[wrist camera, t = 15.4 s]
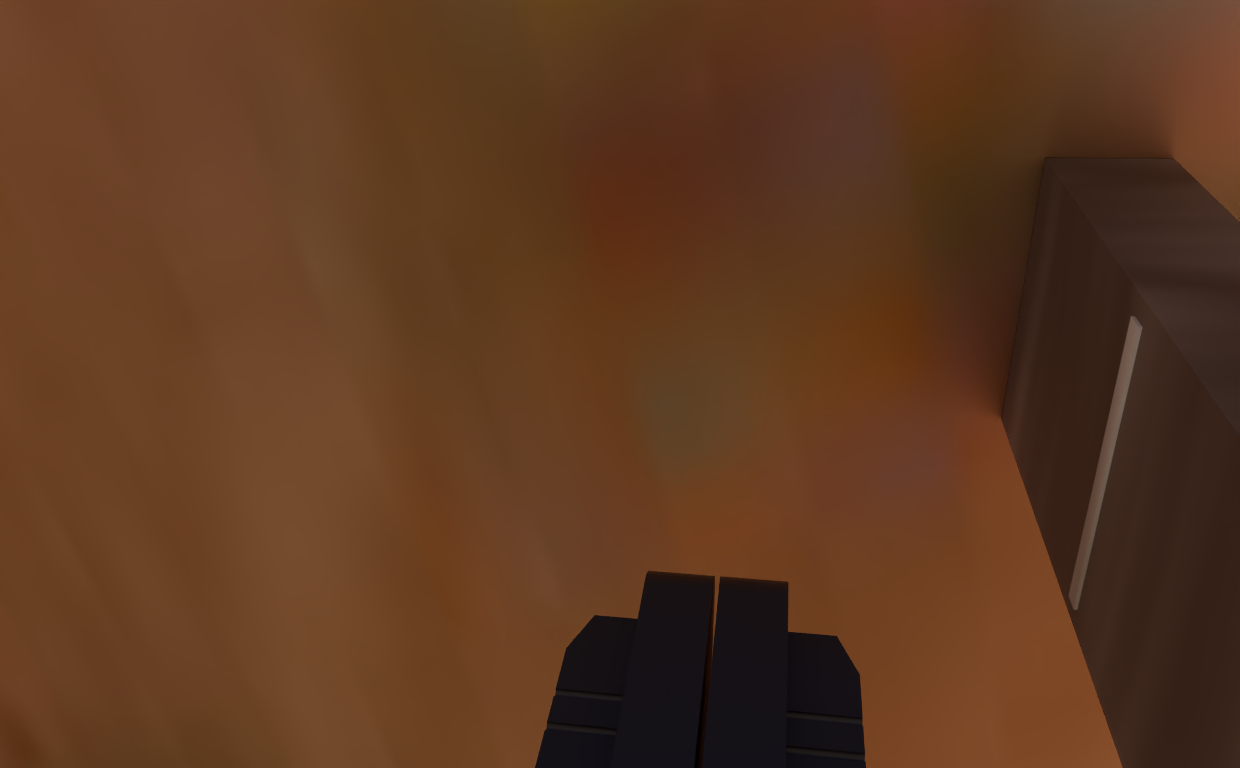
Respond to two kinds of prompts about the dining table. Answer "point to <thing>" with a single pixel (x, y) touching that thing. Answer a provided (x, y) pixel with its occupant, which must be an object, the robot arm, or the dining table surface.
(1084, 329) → the tile
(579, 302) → the dining table surface
